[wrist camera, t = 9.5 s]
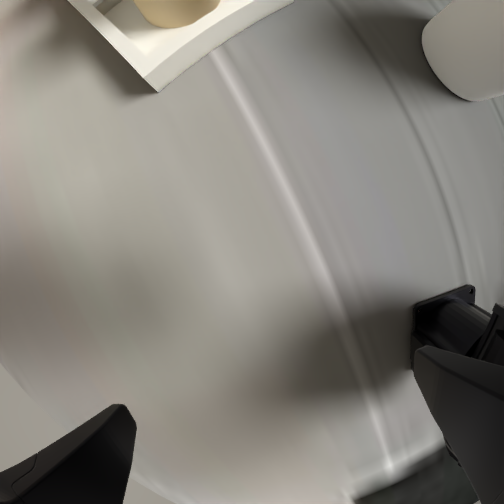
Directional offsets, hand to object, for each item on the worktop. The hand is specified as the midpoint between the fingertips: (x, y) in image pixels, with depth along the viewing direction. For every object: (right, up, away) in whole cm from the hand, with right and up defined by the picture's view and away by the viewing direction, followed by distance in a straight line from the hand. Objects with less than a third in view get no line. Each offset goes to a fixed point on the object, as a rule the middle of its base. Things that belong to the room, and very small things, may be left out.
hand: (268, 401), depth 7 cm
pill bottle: (+16, +20, +8) cm, 27 cm away
